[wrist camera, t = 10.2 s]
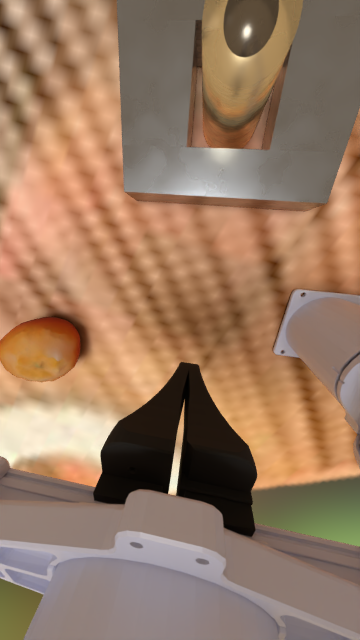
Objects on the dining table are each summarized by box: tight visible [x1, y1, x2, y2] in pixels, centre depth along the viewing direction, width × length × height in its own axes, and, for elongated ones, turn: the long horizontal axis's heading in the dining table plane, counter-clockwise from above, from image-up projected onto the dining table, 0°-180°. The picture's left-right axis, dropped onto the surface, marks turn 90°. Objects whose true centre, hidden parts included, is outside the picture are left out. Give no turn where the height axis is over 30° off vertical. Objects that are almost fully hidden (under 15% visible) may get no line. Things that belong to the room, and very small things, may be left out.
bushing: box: [202, 0, 303, 149], centre depth 11 cm, size 4×4×7 cm
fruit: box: [0, 317, 80, 382], centre depth 22 cm, size 8×8×8 cm
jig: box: [117, 0, 360, 211], centre depth 13 cm, size 16×12×3 cm
